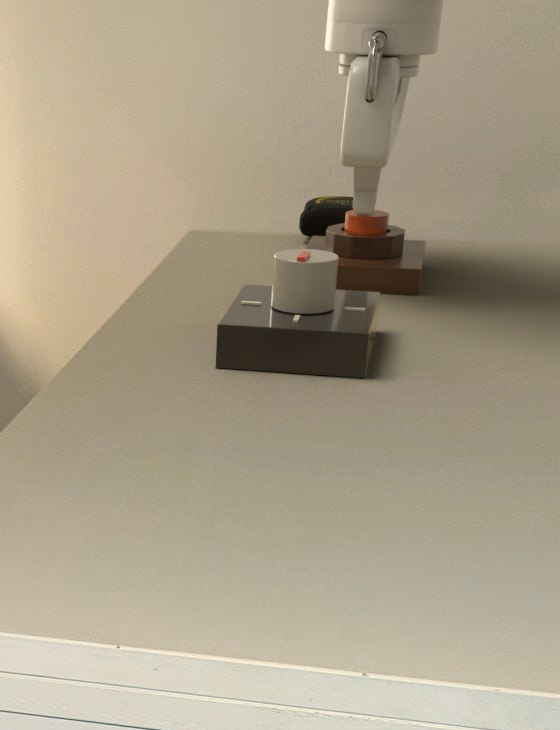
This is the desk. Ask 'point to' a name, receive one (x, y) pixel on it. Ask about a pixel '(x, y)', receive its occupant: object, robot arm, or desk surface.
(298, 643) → the desk surface
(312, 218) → the tape measure
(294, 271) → the hob knob
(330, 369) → the knob base
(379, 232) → the power button
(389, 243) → the switch block
